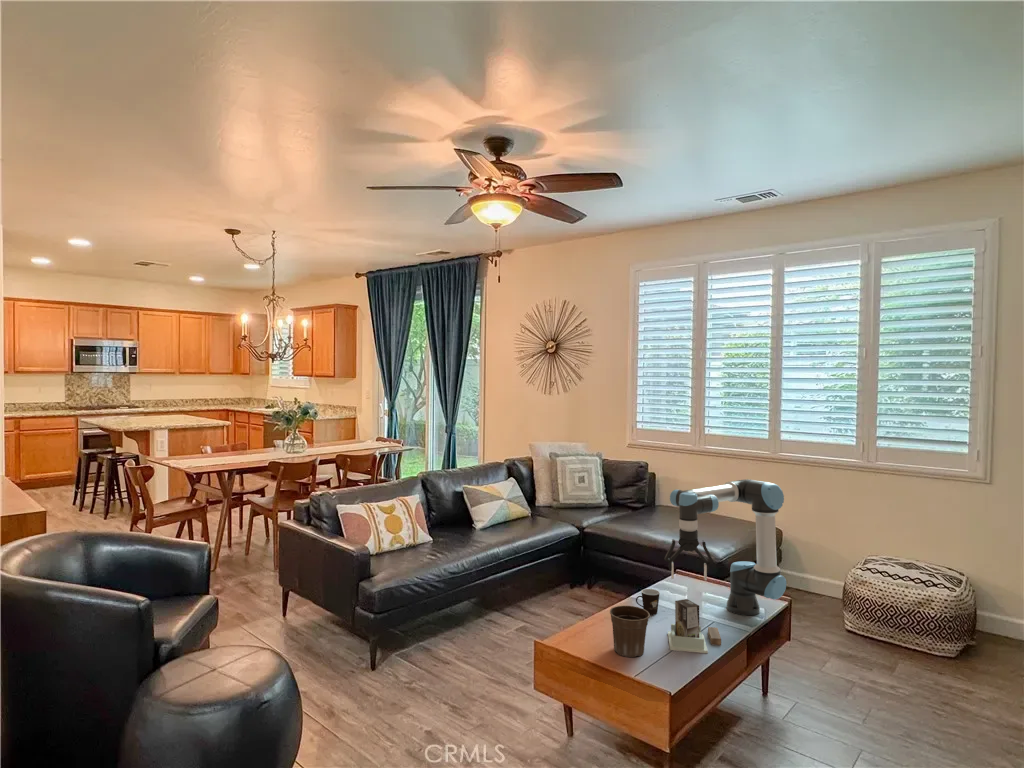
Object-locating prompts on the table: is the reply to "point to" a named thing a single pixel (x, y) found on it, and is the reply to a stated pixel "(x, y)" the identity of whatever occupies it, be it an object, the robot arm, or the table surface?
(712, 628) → the brown wooden block
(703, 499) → the robot arm
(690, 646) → the mint green tray
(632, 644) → the plant pot
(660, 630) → the table surface
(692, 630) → the coffee box
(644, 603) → the coffee mug
